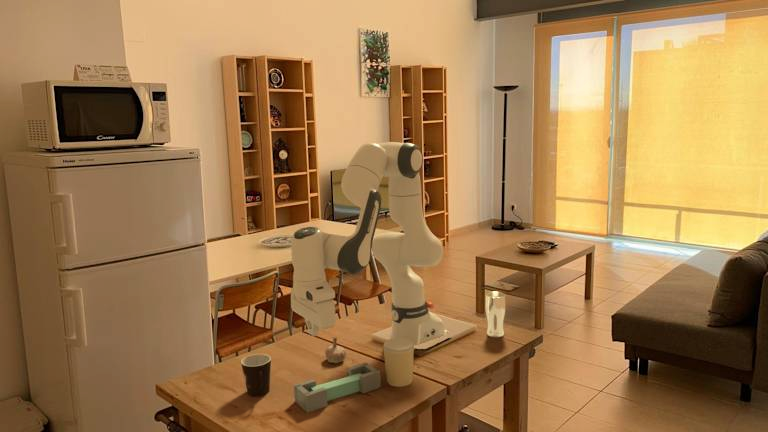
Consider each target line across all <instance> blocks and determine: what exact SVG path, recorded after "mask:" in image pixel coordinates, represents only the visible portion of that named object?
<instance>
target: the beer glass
mask: <svg viewBox="0 0 768 432" xmlns="http://www.w3.org/2000/svg"><path fill="white" fill-rule="evenodd" d="M485 313H486V315H485V316H486V319H487V330H486V335H487V336H489V337H491V338H501V337H503V336H504V335H505V333H504V320H505V315H506V293H504V292H503V291H502V292H501V291H489V292H486V294H485Z"/></svg>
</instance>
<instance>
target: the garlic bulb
mask: <svg viewBox="0 0 768 432" xmlns="http://www.w3.org/2000/svg"><path fill="white" fill-rule="evenodd" d="M337 339H338V338H337V337H336V336H335V337H333V341H332V342H333V343H332V345H330V346H327V348H326V349H325V351H324V354H325V357H326V360H327V361H328V362H329V363H331V364H333V363H334V364H338V363H341V362H344V361H345V359H346V353H347V352H346V350H345V348H344V347H342V346H340V345H337Z"/></svg>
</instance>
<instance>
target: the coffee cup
mask: <svg viewBox="0 0 768 432" xmlns="http://www.w3.org/2000/svg"><path fill="white" fill-rule="evenodd" d="M382 348H383V357H384V365H385V376H386V382H387V383H388V385H390V386H393V387H406V386H408V385H411V384H412V382H413V375H414V353H415V352H414V350H415V349H414V344H413V342H412V341H411V340H409V339H406V338H393V339H390V338H389V339H387V340H386V341H384V343H383V345H382Z"/></svg>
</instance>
